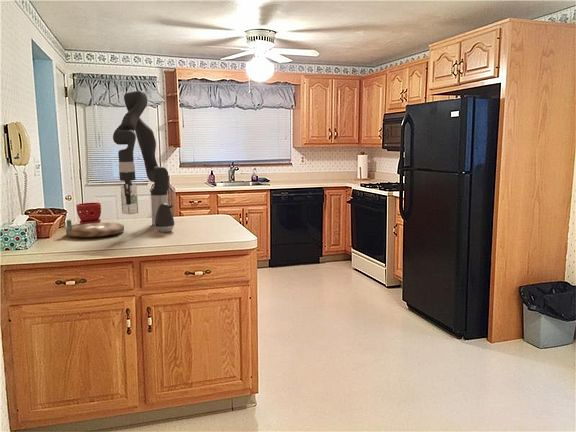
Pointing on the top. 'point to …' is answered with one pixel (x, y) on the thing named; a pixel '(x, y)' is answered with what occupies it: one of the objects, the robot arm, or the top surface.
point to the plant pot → (89, 212)
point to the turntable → (93, 229)
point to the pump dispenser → (164, 218)
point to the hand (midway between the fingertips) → (129, 203)
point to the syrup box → (134, 202)
